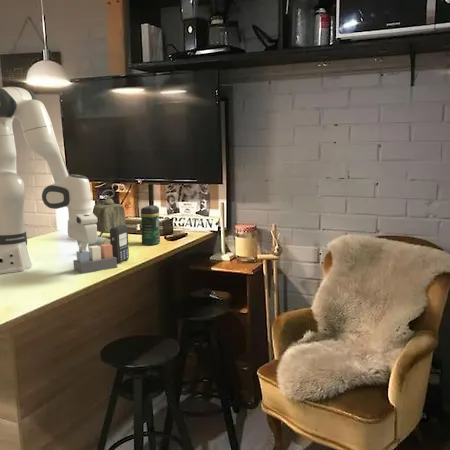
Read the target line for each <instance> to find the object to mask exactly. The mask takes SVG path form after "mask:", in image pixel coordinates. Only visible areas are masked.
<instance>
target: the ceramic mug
mask: <svg viewBox="0 0 450 450" xmlns="http://www.w3.org/2000/svg"><path fill="white" fill-rule="evenodd" d="M103 244H110V238H106V237H101V236H100V237H98V236H97V241H96V243H92V244H87V247H88V250H89V246H96V245H97V246H100V245H103Z"/></svg>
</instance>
